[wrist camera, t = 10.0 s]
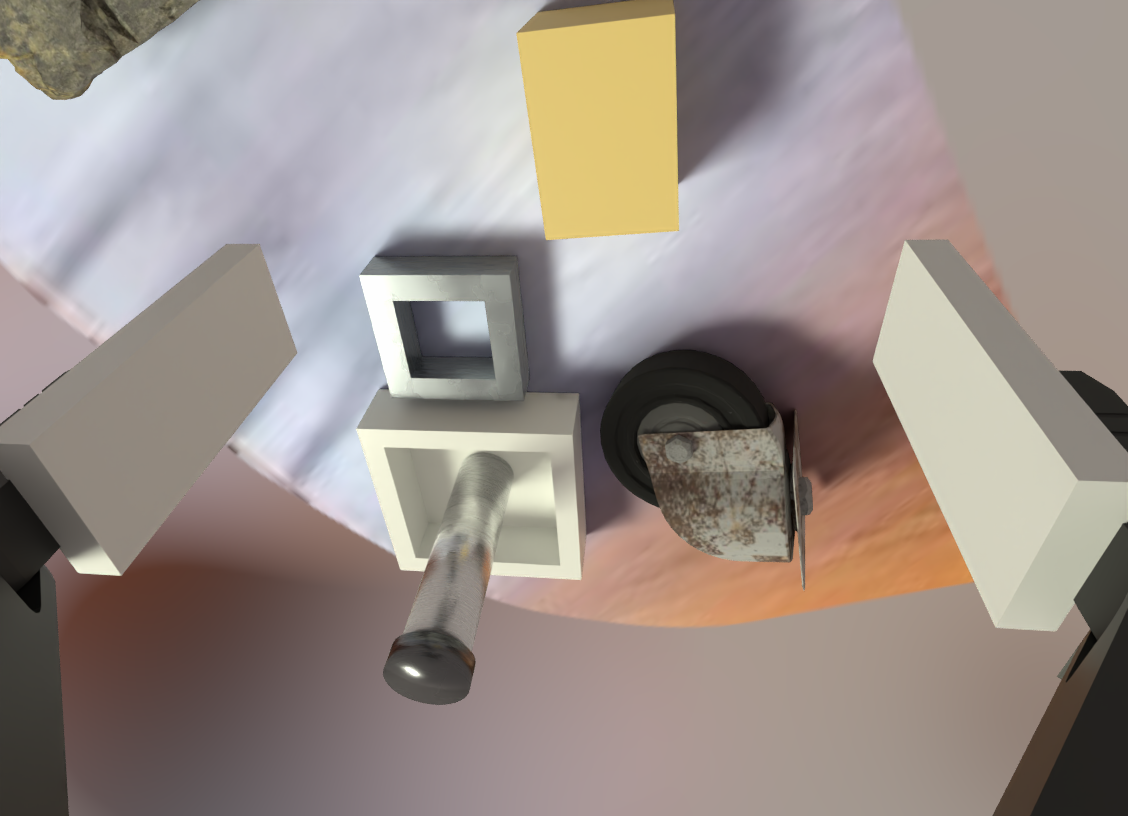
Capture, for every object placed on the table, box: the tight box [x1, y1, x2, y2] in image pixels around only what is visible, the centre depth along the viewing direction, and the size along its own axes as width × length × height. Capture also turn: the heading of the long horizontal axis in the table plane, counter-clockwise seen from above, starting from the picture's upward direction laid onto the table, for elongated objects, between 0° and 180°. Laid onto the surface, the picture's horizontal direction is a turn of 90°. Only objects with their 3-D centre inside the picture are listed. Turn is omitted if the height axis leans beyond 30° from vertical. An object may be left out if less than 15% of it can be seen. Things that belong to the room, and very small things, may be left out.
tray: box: [356, 389, 586, 580], centre depth 38 cm, size 11×11×4 cm
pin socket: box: [359, 256, 530, 401], centre depth 33 cm, size 7×7×2 cm
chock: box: [517, 0, 679, 240], centre depth 25 cm, size 7×5×5 cm
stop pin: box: [383, 452, 514, 705], centre depth 34 cm, size 4×4×13 cm
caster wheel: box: [600, 350, 813, 590], centre depth 34 cm, size 7×11×10 cm
